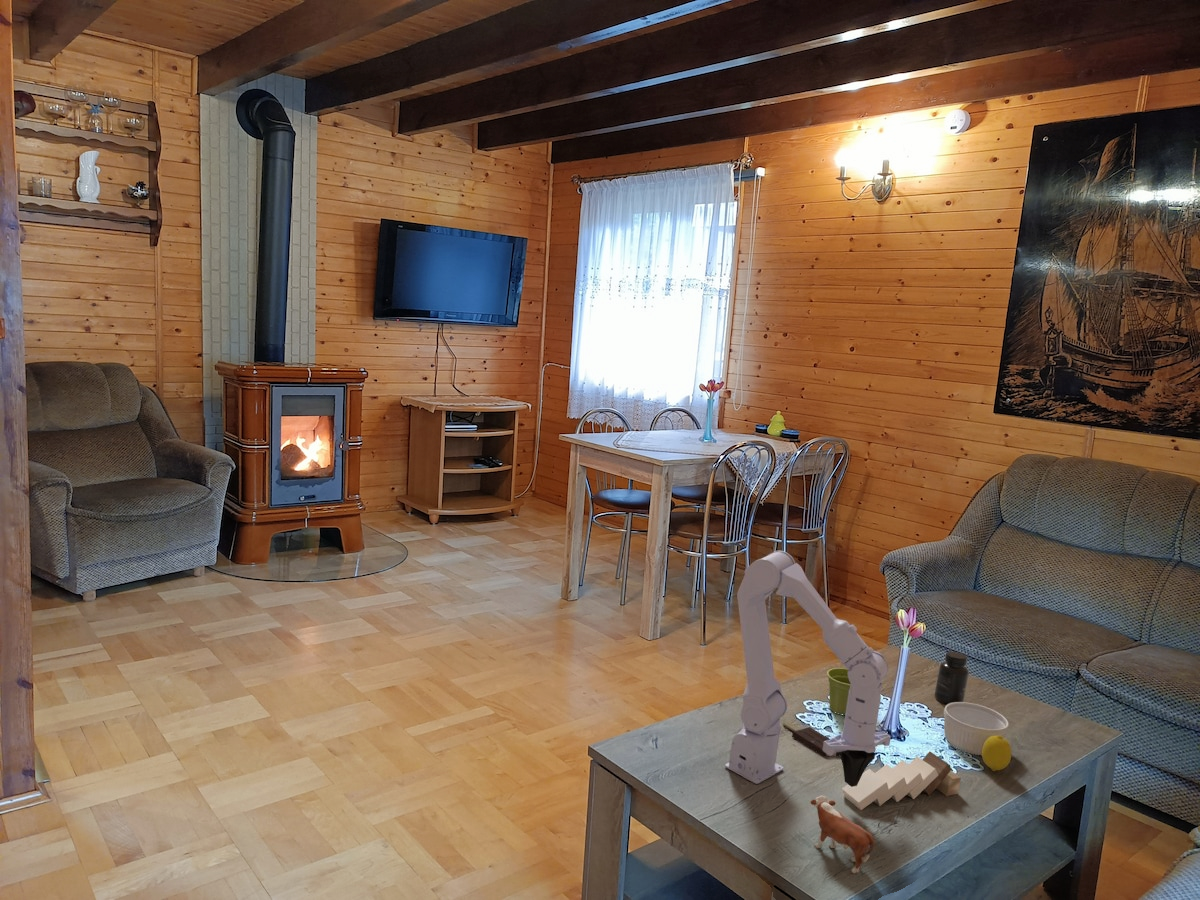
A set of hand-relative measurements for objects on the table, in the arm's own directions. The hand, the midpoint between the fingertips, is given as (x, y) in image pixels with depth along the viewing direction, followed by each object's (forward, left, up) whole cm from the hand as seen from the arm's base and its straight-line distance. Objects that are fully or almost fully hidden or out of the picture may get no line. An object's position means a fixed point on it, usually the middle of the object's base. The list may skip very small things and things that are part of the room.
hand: (850, 783), depth 164 cm
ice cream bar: (+16, +18, -5) cm, 25 cm away
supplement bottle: (+64, +8, -4) cm, 65 cm away
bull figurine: (-16, -7, -4) cm, 18 cm away
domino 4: (+13, -5, -3) cm, 14 cm away
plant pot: (+35, +21, -4) cm, 41 cm away
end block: (+22, -8, -4) cm, 24 cm away
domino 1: (+1, 0, -3) cm, 3 cm away
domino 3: (+9, -3, -3) cm, 10 cm away
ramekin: (+46, -5, -4) cm, 47 cm away
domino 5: (+17, -6, -3) cm, 18 cm away
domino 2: (+5, -2, -3) cm, 6 cm away
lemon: (+38, -13, -4) cm, 40 cm away
